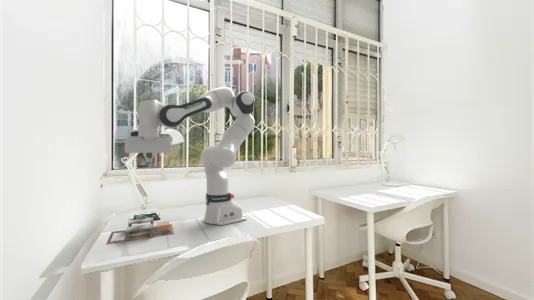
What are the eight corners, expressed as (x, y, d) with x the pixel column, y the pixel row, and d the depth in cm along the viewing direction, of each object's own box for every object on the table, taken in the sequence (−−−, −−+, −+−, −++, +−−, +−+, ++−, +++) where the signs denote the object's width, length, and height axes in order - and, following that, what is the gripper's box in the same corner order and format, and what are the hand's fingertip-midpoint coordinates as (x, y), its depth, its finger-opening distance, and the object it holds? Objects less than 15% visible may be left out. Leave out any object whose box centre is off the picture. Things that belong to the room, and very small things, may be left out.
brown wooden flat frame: (171, 226, 114) (171, 214, 114) (174, 237, 102) (174, 224, 101) (111, 235, 104) (111, 222, 103) (106, 248, 91) (105, 233, 91)
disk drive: (160, 223, 120) (154, 215, 132) (160, 218, 120) (154, 210, 132) (138, 228, 114) (133, 219, 125) (137, 222, 114) (133, 214, 125)
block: (168, 227, 109) (168, 221, 109) (169, 231, 105) (169, 224, 105) (157, 229, 107) (156, 222, 107) (157, 233, 103) (157, 226, 102)
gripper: (172, 134, 120) (172, 161, 121) (125, 133, 111) (125, 162, 112) (172, 133, 114) (173, 162, 115) (123, 132, 105) (124, 163, 106)
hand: (149, 162), depth 113 cm, fingers closed
